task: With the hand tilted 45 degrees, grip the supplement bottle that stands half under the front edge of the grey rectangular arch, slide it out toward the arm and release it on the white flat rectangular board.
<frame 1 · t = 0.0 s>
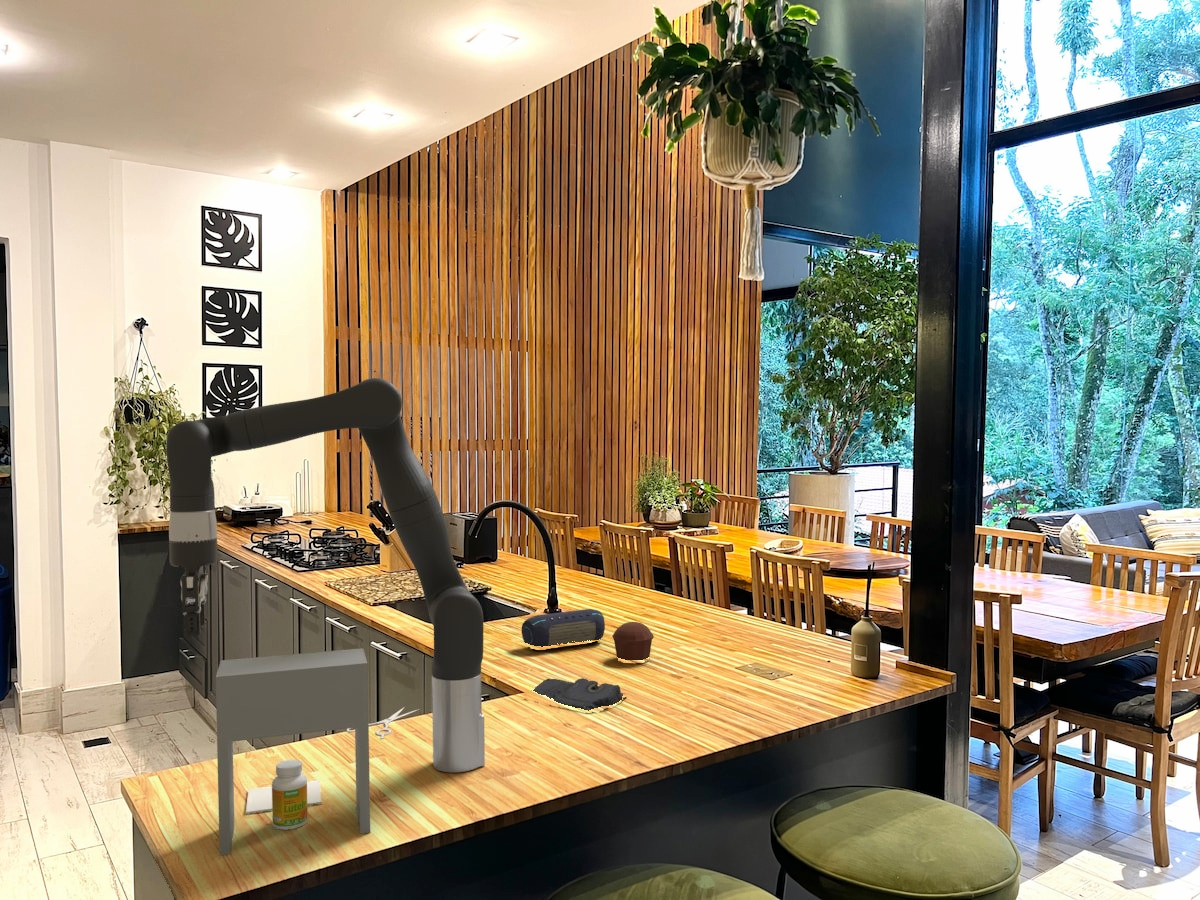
hand: (195, 630, 155), 29 cm above the counter, tool pointing down, fingers open, 8 cm apart
white flat rectangular board: (284, 797, 156), on the counter
crumpled dark grey cloth: (575, 702, 211), on the counter
portable speaker: (565, 647, 261), on the counter
scissors: (388, 724, 196), on the counter
muffin: (633, 660, 245), on the counter
supplement bottle: (290, 824, 146), on the counter
grey rectangular arch: (296, 830, 143), on the counter
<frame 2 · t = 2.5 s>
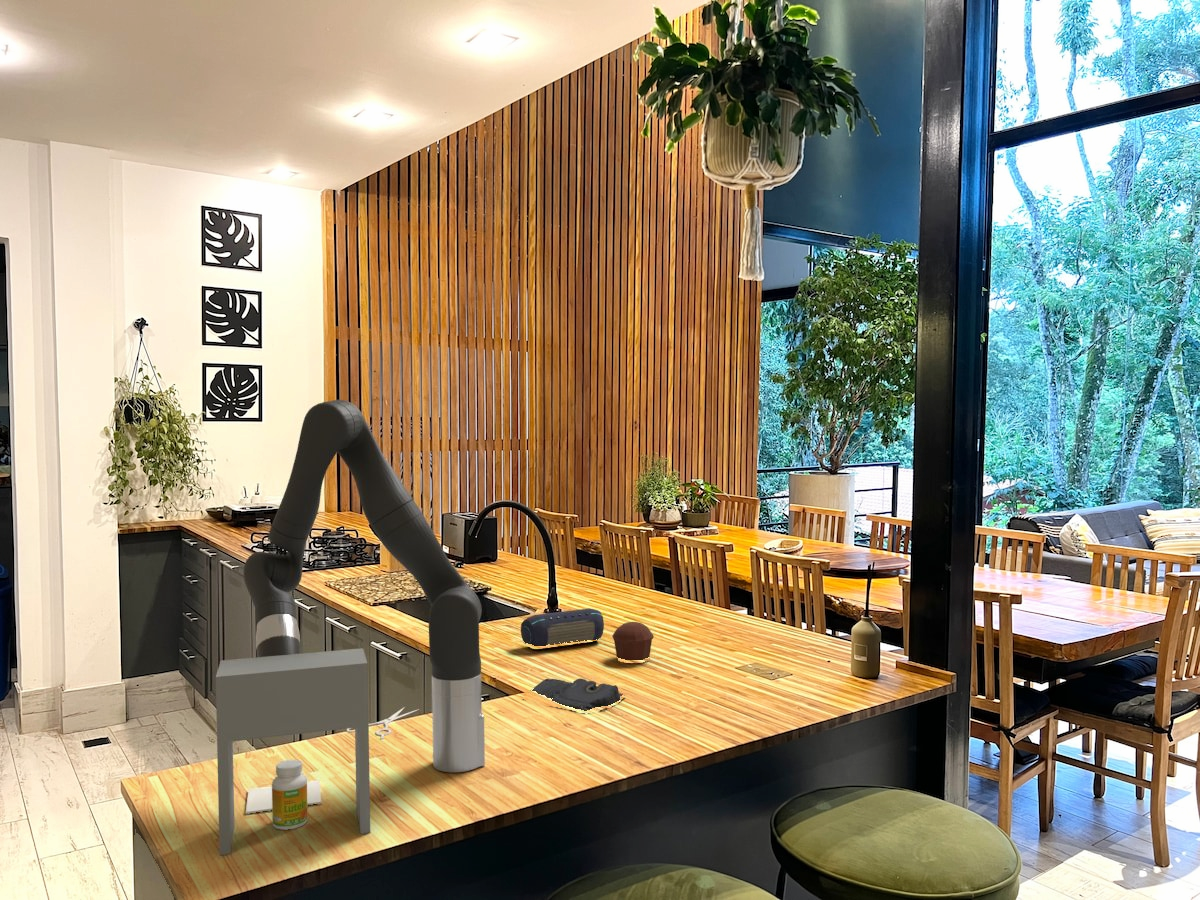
hand: (284, 727, 153), 13 cm above the counter, tool tilted 45°, fingers open, 8 cm apart
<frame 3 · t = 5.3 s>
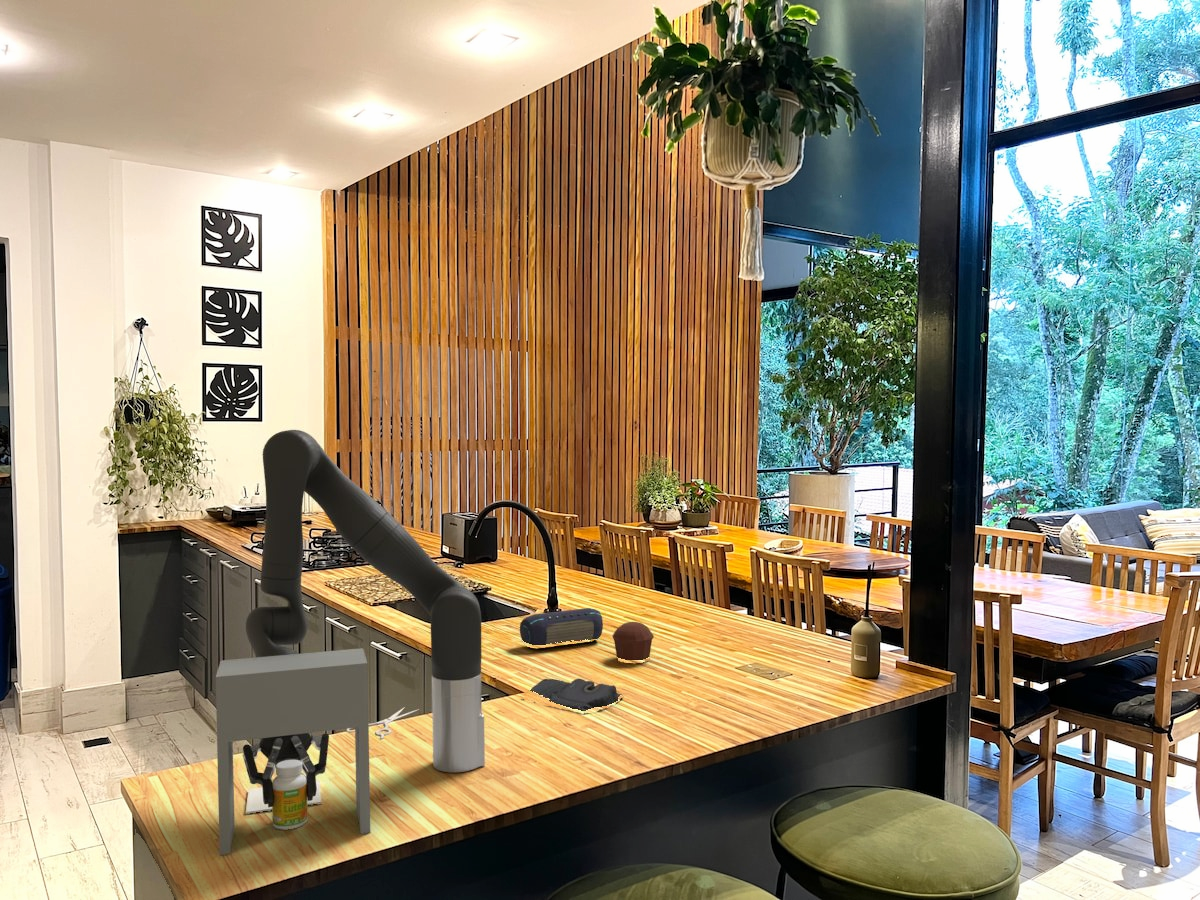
hand: (290, 801, 144), 4 cm above the counter, tool tilted 45°, fingers closed on supplement bottle, 5 cm apart
supplement bottle: (290, 824, 146), on the counter, touching gripper
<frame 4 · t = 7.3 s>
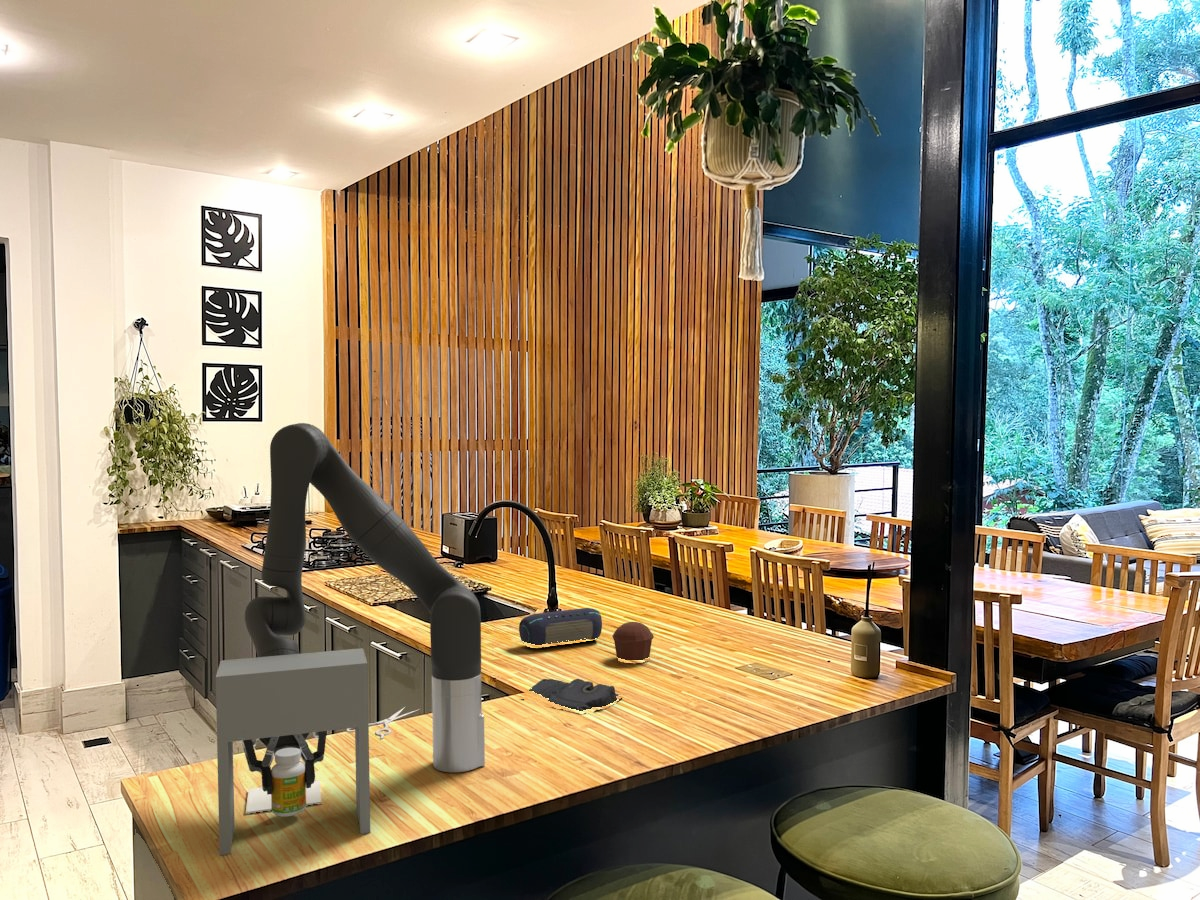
hand: (289, 788, 146), 6 cm above the counter, tool tilted 45°, fingers closed on supplement bottle, 5 cm apart
supplement bottle: (289, 811, 148), point 1 cm above the counter, touching gripper
when the fingers open (6 cm above the counter, at t = 9.7 s): supplement bottle stays where it is, resting on white flat rectangular board.
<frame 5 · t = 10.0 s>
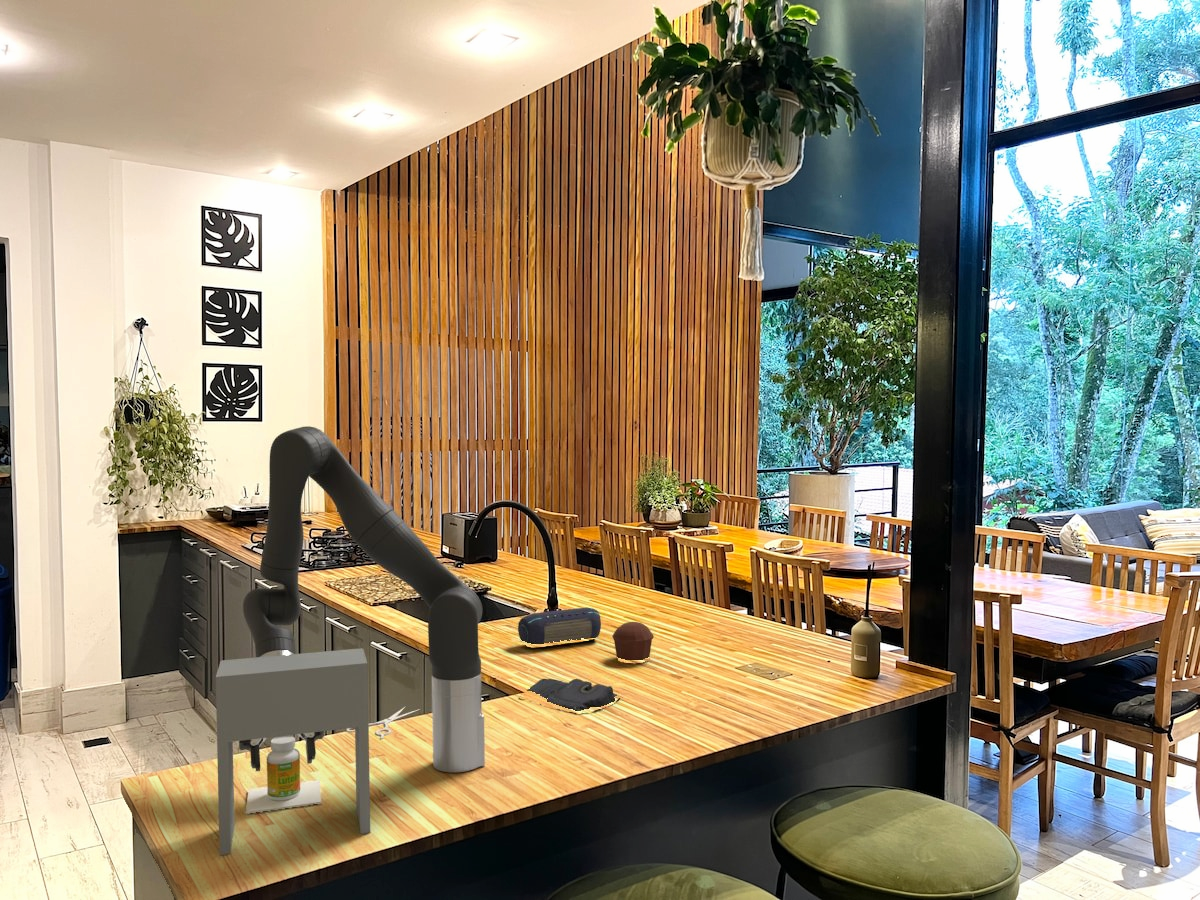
hand: (284, 765, 155), 6 cm above the counter, tool tilted 45°, fingers open, 8 cm apart
supplement bottle: (284, 796, 156), resting on white flat rectangular board
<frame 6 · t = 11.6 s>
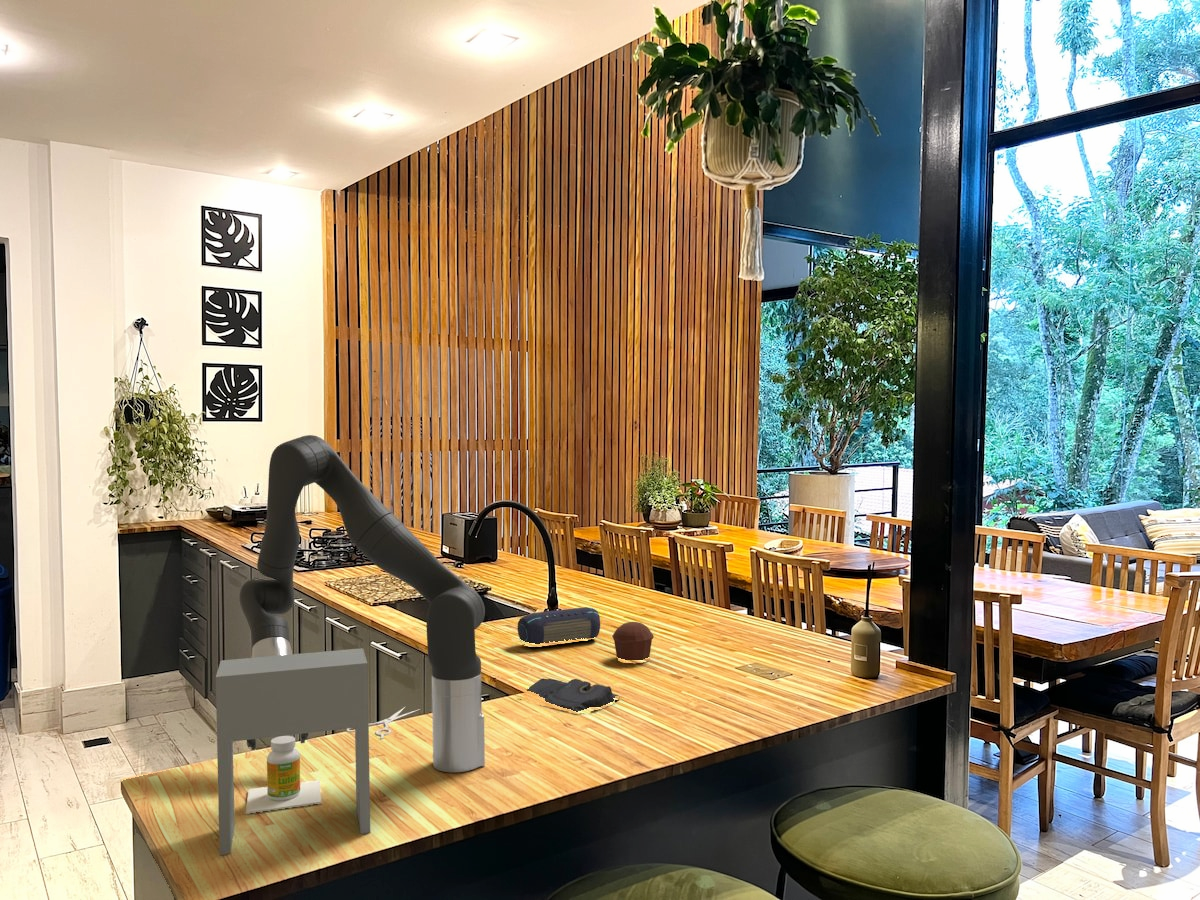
hand: (278, 744, 164), 6 cm above the counter, tool tilted 45°, fingers open, 8 cm apart
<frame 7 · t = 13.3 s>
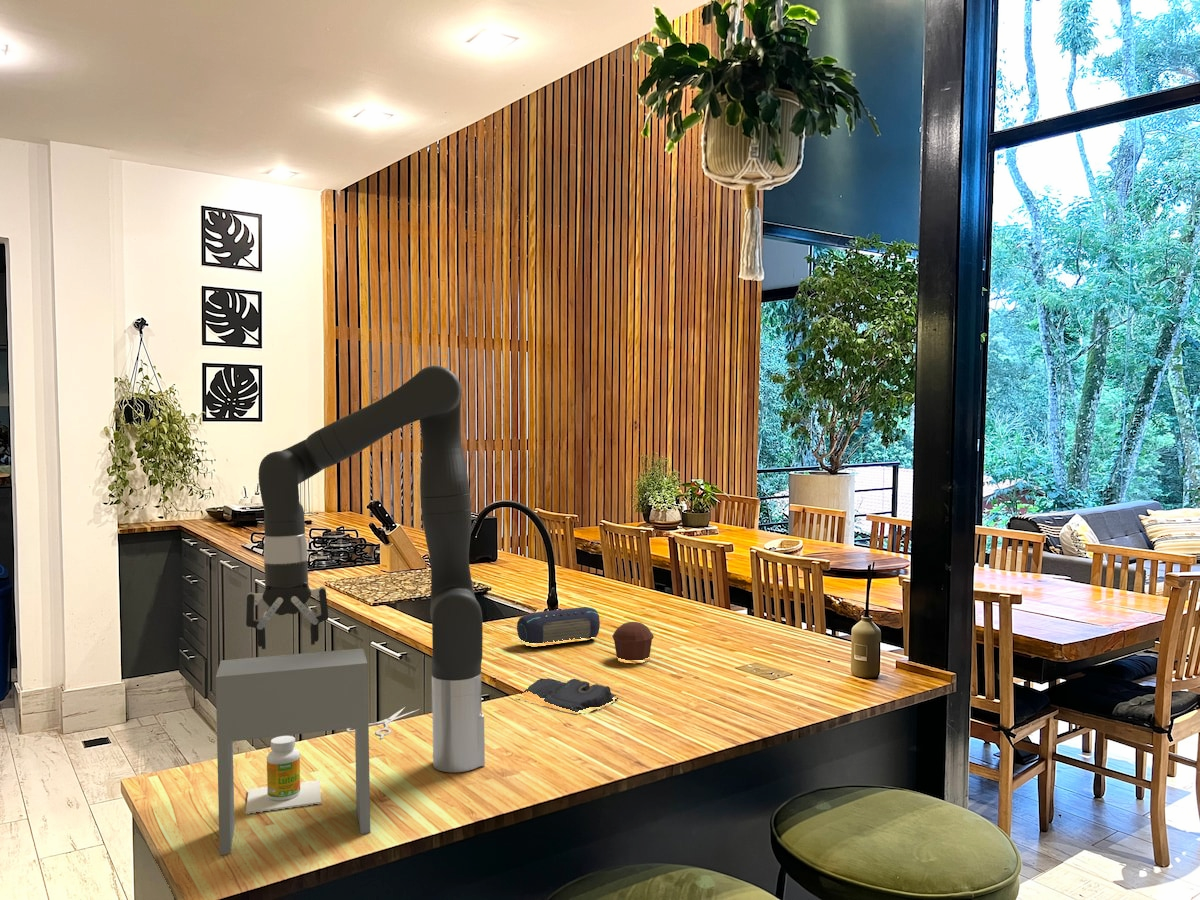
hand: (288, 646, 166), 24 cm above the counter, tool pointing down, fingers open, 8 cm apart
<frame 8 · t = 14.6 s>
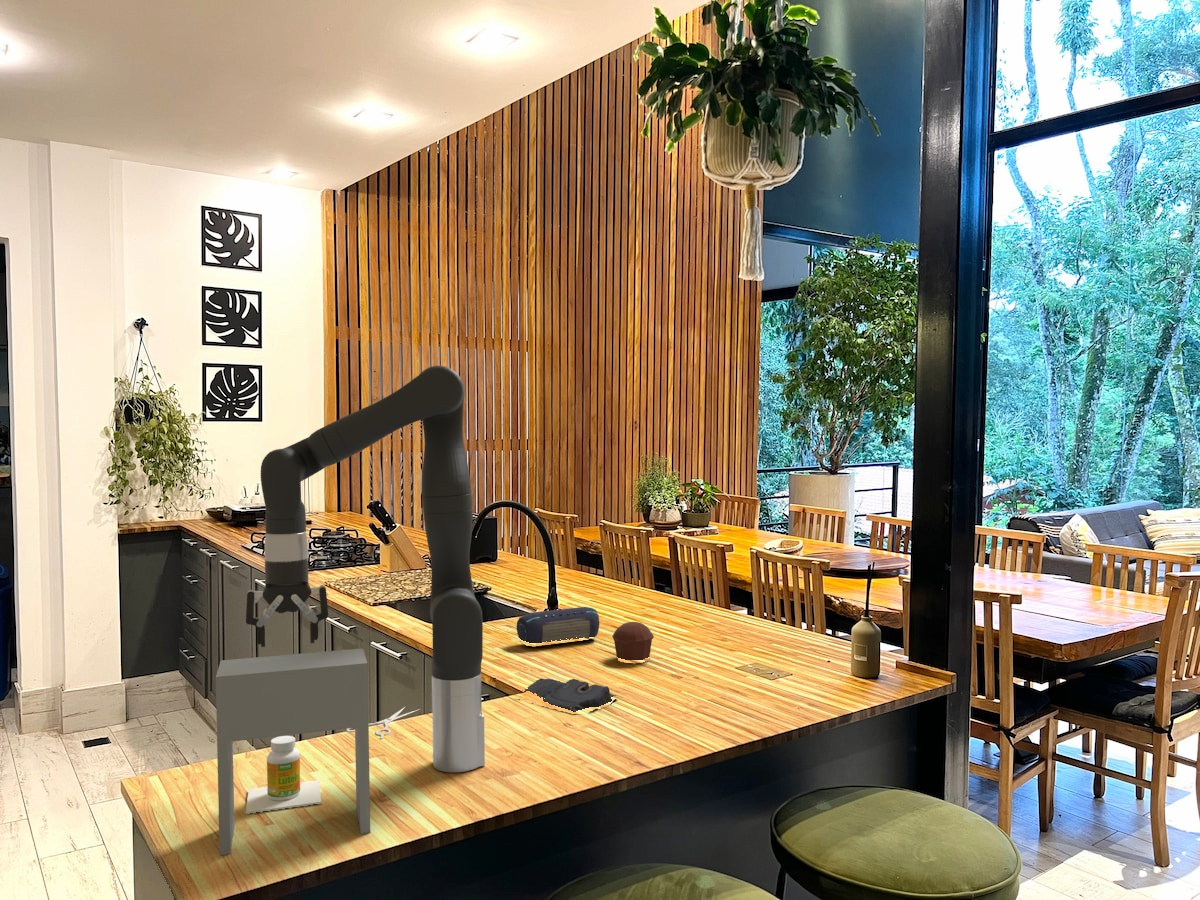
hand: (288, 644, 166), 24 cm above the counter, tool pointing down, fingers open, 8 cm apart
at the end: supplement bottle inside the target area on the white flat rectangular board (0.2 cm from its centre), point 0.2 cm above the white flat rectangular board's base; supplement bottle tilted 0°; the gripper is holding nothing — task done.
